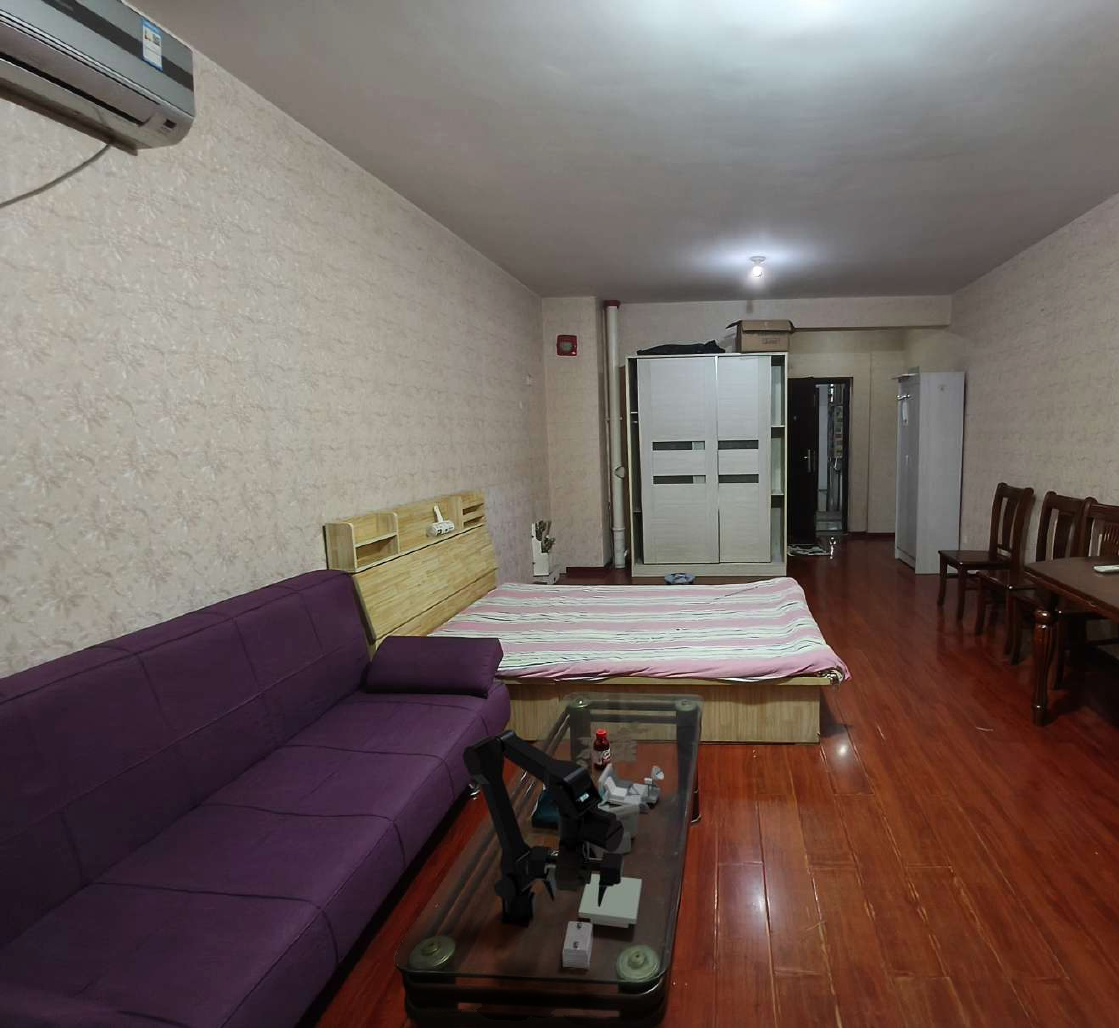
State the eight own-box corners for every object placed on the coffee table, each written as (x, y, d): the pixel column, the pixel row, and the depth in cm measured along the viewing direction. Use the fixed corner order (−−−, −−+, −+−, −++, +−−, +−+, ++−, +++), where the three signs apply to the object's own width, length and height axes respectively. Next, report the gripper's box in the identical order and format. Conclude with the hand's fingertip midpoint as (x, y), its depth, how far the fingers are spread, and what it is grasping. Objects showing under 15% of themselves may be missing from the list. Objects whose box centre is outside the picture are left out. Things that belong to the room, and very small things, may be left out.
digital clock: (637, 833, 170) (635, 794, 169) (644, 855, 162) (643, 815, 160) (574, 839, 169) (572, 800, 168) (579, 862, 160) (577, 822, 159)
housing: (563, 968, 130) (562, 948, 129) (569, 937, 137) (568, 918, 137) (588, 970, 129) (587, 950, 128) (593, 939, 137) (592, 920, 136)
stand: (579, 929, 139) (578, 912, 138) (589, 889, 151) (588, 873, 150) (636, 936, 136) (635, 919, 136) (642, 895, 148) (641, 879, 147)
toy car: (666, 761, 187) (656, 783, 176) (667, 793, 188) (657, 817, 177) (605, 752, 193) (593, 772, 183) (607, 783, 195) (594, 805, 184)
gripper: (516, 852, 124) (520, 927, 126) (615, 862, 120) (618, 939, 122) (531, 817, 134) (535, 887, 137) (622, 825, 130) (625, 897, 133)
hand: (576, 902), depth 132 cm, fingers open, 9 cm apart
